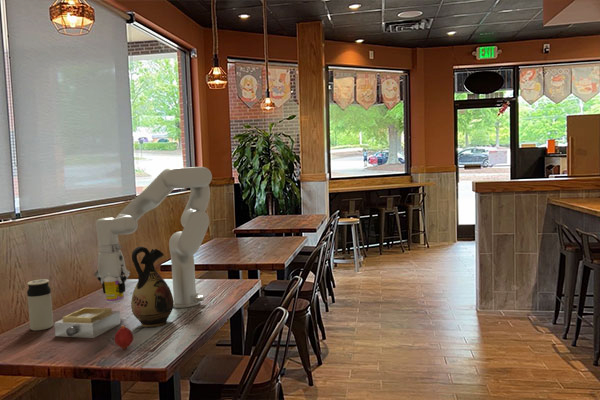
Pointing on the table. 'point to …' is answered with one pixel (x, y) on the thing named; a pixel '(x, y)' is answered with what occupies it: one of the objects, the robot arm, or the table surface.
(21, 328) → the table surface
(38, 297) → the travel mug
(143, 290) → the ceramic jug
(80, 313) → the white gold-rimmed box
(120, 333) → the onion
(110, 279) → the supplement bottle
